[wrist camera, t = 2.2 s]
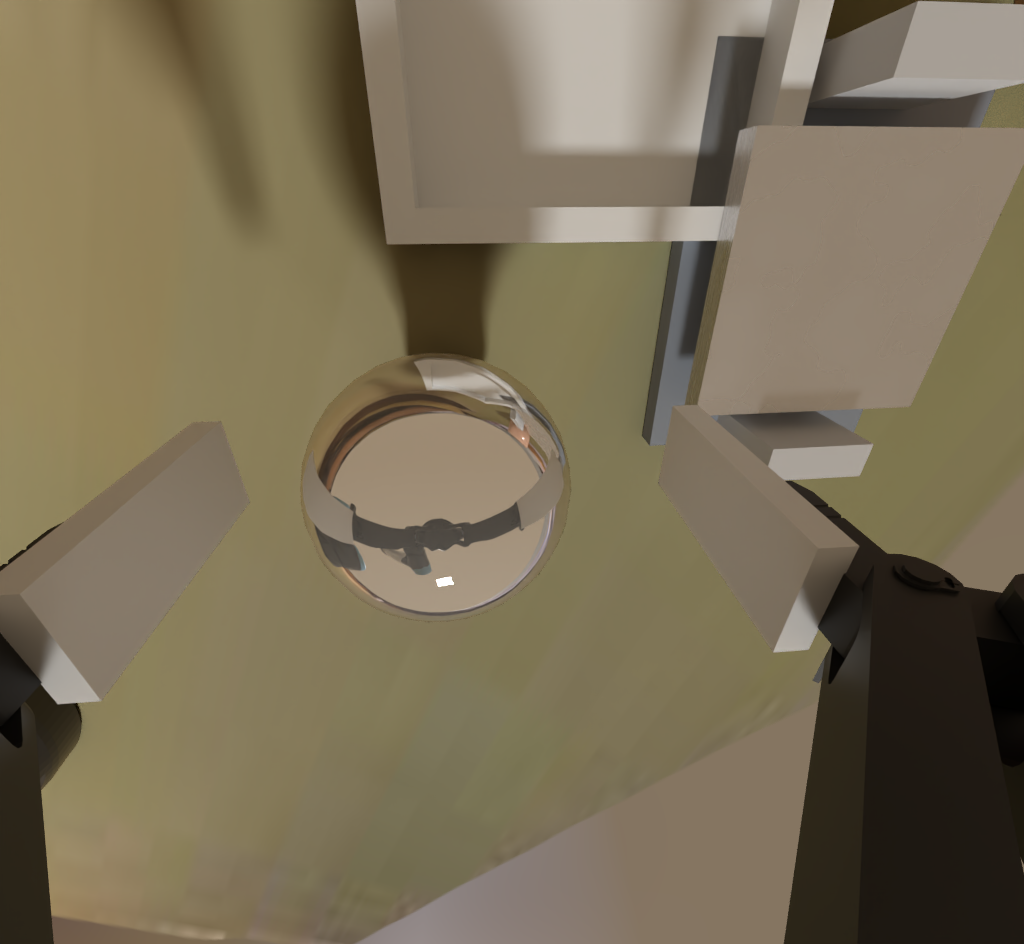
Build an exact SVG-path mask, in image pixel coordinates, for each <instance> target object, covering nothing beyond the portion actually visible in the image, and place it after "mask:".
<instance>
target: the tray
mask: <svg viewBox="0 0 1024 944" xmlns="http://www.w3.org/2000/svg"><path fill="white" fill-rule="evenodd" d="M833 4H834V0H356V8H357V16H358V24H359V31H360V39H361V47H362V55H363V63H364V70H365V78H366V86H367V94H368V102H369V109H370V117H371V125H372V133H373V140H374V148H375V156H376V164H377V172H378V179H379V187H380V195H381V203H382V211H383V218H384V226H385V234H386V242H387V244H463V243H552V242H642V241H717V240H718V235H719V230H720V225H721V220H722V215H723V210H724V206H723V205H724V204H725V202H724V201H725V200H723V199H720V195H722V196H723V198H724V199H726V191H727V186H728V185H727V183H728V184H729V182H728V181H729V179H730V177H728V175H727V177H726V176H724V174H723V173H725V172H726V171H725V172H724V171H723V170H727V169H728V170H729V169H730V168H732V167H731V166H732V165H731V163H732V162H730V160H731V161H732V160H733V159H734V155H732V154H731V153H730V152H732V150H731V151H729V150H730V148H729V149H728V150H727V148H728V147H730V146H731V145H732V146H733V147H732V146H731V148H732V149H733V150H734V151H735V149H734V148H736V147H735V146H736V145H733V143H732V142H736V143H737V141H736V140H737V139H738V138H736V136H734V134H733V133H732V132H734V131H732V130H731V129H732V127H733V130H735V129H734V128H736V126H737V125H739V123H740V124H741V122H740V121H742V124H744V125H745V123H747V124H746V126H745V127H746V128H750V127H754V126H757V125H776V126H802V125H803V121H804V117H805V114H806V110H807V106H808V102H809V98H810V94H811V90H812V86H813V82H814V78H815V74H816V70H817V67H818V63H819V59H820V55H821V51H822V47H823V43H824V39H825V35H826V31H827V27H828V23H829V19H830V16H831V12H832V8H833ZM718 36H722V37H723V36H725V39H726V41H727V37H726V36H734V37H733V38H732V39H735V37H736V36H738V37H737V38H738V40H739V41H738V42H740V41H741V40H740V39H741V38H740V39H739V36H740V37H742V36H743V37H744V38H743V40H745V38H746V37H748V39H749V37H750V38H751V39H753V37H754V38H755V37H757V38H758V39H757V38H755V39H757V40H759V38H760V37H764V41H763V42H764V43H763V42H762V44H761V43H760V41H758V42H759V43H760V45H761V47H762V52H761V51H760V50H761V49H760V48H759V49H760V50H759V49H758V48H757V49H756V50H759V51H757V53H758V52H761V53H758V54H760V56H761V57H760V56H759V55H758V54H757V55H756V50H755V53H754V48H755V47H758V46H760V45H757V46H756V42H754V41H755V39H754V40H752V43H753V42H754V44H753V46H754V45H755V47H754V48H753V47H751V45H750V44H751V43H750V44H749V43H748V44H747V47H745V49H746V50H747V51H748V50H749V51H748V52H749V53H750V50H751V51H753V52H752V53H753V54H752V55H754V56H753V57H756V56H758V57H756V59H757V60H756V61H758V58H759V57H760V58H759V59H760V61H759V62H758V63H759V64H757V63H755V64H757V66H756V65H755V64H754V65H755V67H754V68H755V69H756V70H757V74H756V75H757V76H756V75H754V73H756V72H754V71H756V70H754V68H753V69H752V70H751V71H753V70H754V71H753V72H754V73H753V72H751V73H753V74H752V76H751V75H750V74H746V75H748V78H749V77H752V79H751V78H750V79H751V80H752V81H751V80H750V79H748V78H746V77H747V76H744V77H745V78H746V79H748V80H750V81H751V82H753V84H752V85H749V84H751V83H749V82H748V80H746V79H744V77H743V75H745V74H744V72H745V73H750V72H748V71H747V72H746V68H745V69H744V67H746V66H747V65H748V66H747V70H748V68H749V66H751V64H750V65H749V63H748V62H749V61H754V62H756V61H755V58H754V60H753V59H752V60H751V59H750V60H748V59H745V58H743V57H745V56H746V55H747V54H748V53H746V52H747V51H745V53H746V55H743V53H742V50H741V49H740V50H738V48H739V47H738V45H737V44H738V42H737V41H735V40H734V41H735V42H737V43H736V44H735V42H734V41H733V40H732V41H733V44H735V45H733V47H734V46H735V48H736V45H737V49H736V50H738V51H737V52H739V51H740V54H741V53H742V54H741V55H740V54H739V53H738V55H740V58H743V59H745V60H744V62H746V63H747V64H745V63H744V64H745V66H744V65H743V64H741V63H742V62H743V61H742V59H741V60H740V61H739V59H740V58H739V59H738V57H739V56H736V55H737V54H735V52H736V50H734V49H735V48H733V47H731V51H732V50H734V52H733V53H734V55H735V57H736V60H738V62H739V65H740V64H741V66H740V67H742V65H743V67H742V68H743V70H745V71H744V72H743V74H742V75H740V76H741V77H743V78H742V79H743V83H745V84H746V83H747V82H748V83H747V84H748V86H747V84H746V85H745V90H747V89H750V88H752V87H753V88H752V89H753V90H754V91H752V89H750V91H749V92H750V93H751V96H752V97H751V96H749V94H750V93H749V94H747V92H748V90H747V92H745V91H744V89H742V90H743V92H742V90H739V89H741V88H739V89H737V88H736V89H737V90H738V91H741V94H740V92H738V91H736V89H735V93H736V92H737V93H739V95H738V94H737V95H738V96H740V95H741V96H740V97H739V98H741V97H742V99H741V100H742V101H744V103H747V101H748V100H746V102H745V96H744V95H746V94H747V95H748V96H746V97H748V99H749V97H750V99H751V101H748V104H749V103H750V102H751V103H750V104H751V105H749V106H750V107H749V106H746V105H747V104H745V105H743V103H739V101H740V102H742V101H741V100H739V98H738V99H736V98H737V97H736V98H735V95H736V94H735V95H734V98H733V94H734V91H733V90H732V89H734V87H735V84H736V83H735V84H733V85H734V87H733V88H731V87H732V86H731V85H732V83H734V82H732V83H731V81H730V83H731V84H730V86H728V84H727V81H726V82H725V83H724V84H725V85H727V86H726V87H725V85H724V86H723V84H721V80H722V79H724V78H725V77H726V78H725V80H727V76H728V75H729V76H728V78H729V79H730V80H731V78H730V77H732V75H734V71H736V70H737V71H738V70H741V69H742V68H740V67H739V66H738V67H739V69H737V68H738V67H737V66H735V67H737V68H736V69H735V70H734V71H733V72H732V71H731V72H732V73H733V74H732V75H731V74H727V75H726V76H725V75H724V74H723V75H724V78H722V79H721V76H720V77H718V75H720V74H721V73H724V71H723V72H722V70H720V69H719V68H717V71H718V70H720V71H719V73H720V72H721V73H720V74H719V73H718V75H717V74H716V75H717V76H716V77H714V79H715V78H717V77H718V78H717V80H715V81H716V82H717V81H720V84H719V85H720V86H723V87H725V88H723V87H721V89H722V88H723V90H724V89H726V88H728V87H729V88H731V89H730V93H732V92H733V93H732V96H731V94H729V95H728V97H726V99H725V97H723V95H725V94H726V93H727V92H728V89H727V92H725V91H726V90H725V91H724V92H725V94H722V96H720V95H721V93H723V92H721V93H720V91H719V93H720V95H719V94H718V95H719V96H720V97H722V99H721V100H723V101H721V102H724V101H725V102H727V98H728V100H730V104H733V102H732V101H734V105H732V106H731V107H734V106H735V105H736V104H737V103H736V104H735V100H736V101H737V102H738V104H737V105H736V106H738V105H739V104H741V105H740V106H739V107H737V110H736V108H735V109H733V110H736V112H737V113H738V108H740V109H739V110H742V111H743V113H744V114H745V117H746V118H745V117H744V115H743V114H742V113H740V112H741V111H739V113H740V114H739V113H738V115H739V116H734V115H735V114H733V113H734V111H732V109H731V111H730V109H729V108H730V104H729V105H727V104H728V103H726V106H728V109H729V110H728V111H729V112H730V113H732V114H733V115H732V118H734V117H735V118H734V119H735V120H736V121H737V122H738V123H737V122H736V125H735V123H734V125H735V127H734V125H733V124H731V123H733V122H731V119H732V118H731V116H730V115H731V114H730V113H728V114H729V116H728V115H726V116H727V117H725V115H724V114H723V115H724V116H722V118H723V117H724V119H725V118H726V119H727V118H728V119H727V120H728V123H730V124H731V125H732V126H731V125H730V124H729V125H730V126H731V127H730V126H728V124H727V123H726V121H727V120H725V123H726V124H724V125H726V126H728V127H727V128H726V129H728V128H730V129H729V130H728V131H730V130H731V131H730V133H729V132H728V131H727V134H725V133H726V132H725V133H724V128H722V126H723V123H722V126H721V120H722V122H724V120H723V119H722V118H720V120H719V118H718V117H719V116H718V117H717V115H716V114H717V113H720V112H719V111H718V112H717V110H718V109H719V108H718V106H717V108H718V109H717V108H716V105H717V102H716V101H717V99H718V98H719V96H718V98H717V95H715V93H716V91H717V90H718V88H719V90H721V89H720V86H719V85H718V84H717V83H716V84H717V86H719V87H718V88H716V85H715V86H714V85H713V86H714V87H715V88H716V89H717V90H716V89H714V88H712V86H711V85H712V83H710V81H711V80H713V76H714V75H715V73H714V75H713V74H712V73H713V72H714V71H712V69H713V68H714V67H713V66H714V65H713V64H714V62H715V60H714V57H715V56H717V54H718V53H717V52H718V50H716V45H717V44H718V43H719V44H718V45H720V42H722V40H723V39H722V40H720V41H719V42H717V39H718ZM720 38H721V37H720ZM730 38H731V37H730ZM748 39H747V40H748ZM760 39H761V40H763V39H762V38H760ZM736 40H737V39H736ZM743 40H742V41H743ZM724 42H725V41H724ZM724 42H723V43H724ZM730 42H731V41H730ZM730 42H729V39H728V43H730ZM744 42H745V41H744ZM744 42H742V43H744ZM747 42H749V40H748V41H746V43H747ZM725 43H726V42H725ZM728 43H727V45H728ZM742 43H740V44H741V46H742ZM721 44H722V43H721ZM744 44H745V43H744ZM744 44H743V46H742V48H743V47H744ZM718 45H717V46H718ZM725 45H726V44H725ZM748 45H749V46H750V47H751V48H753V50H752V49H747V48H748V47H749V46H748ZM721 46H722V45H721ZM721 46H719V49H720V47H721ZM731 46H732V45H731ZM739 46H740V45H739ZM745 46H746V45H745ZM724 47H725V46H724V44H723V48H724ZM729 47H730V44H729ZM732 48H733V49H732ZM717 49H718V47H717ZM729 49H730V48H729ZM729 49H728V47H727V50H729ZM721 50H722V49H721ZM715 51H716V52H715ZM725 51H726V48H725ZM727 52H728V51H727ZM727 52H726V53H725V54H728V53H727ZM737 52H736V53H737ZM720 53H721V52H720ZM722 53H723V54H724V52H722ZM745 53H744V54H745ZM723 54H722V57H723ZM725 54H724V55H725ZM730 54H731V53H730V52H729V54H728V55H730ZM719 55H720V54H718V56H719ZM755 55H756V56H755ZM718 56H717V57H718ZM726 56H727V55H726ZM741 56H742V57H741ZM747 56H748V58H753V57H751V53H750V54H749V55H747ZM747 56H746V58H747ZM749 56H750V57H749ZM729 57H730V58H729V59H731V57H733V54H732V55H730V56H729ZM715 58H716V57H715ZM720 58H721V57H720ZM720 58H719V57H718V60H719V59H720ZM724 58H725V59H726V58H727V57H724ZM733 58H734V57H733ZM733 58H732V59H733ZM722 59H723V58H722ZM727 59H728V58H727ZM727 59H726V63H727ZM746 60H748V62H747V61H746ZM722 61H723V60H722ZM724 61H725V60H724ZM724 61H723V62H721V64H720V65H722V64H723V63H724ZM732 61H733V60H732ZM741 61H742V62H741ZM728 62H729V61H728ZM740 62H741V63H740ZM716 63H717V61H716ZM716 63H715V66H716V67H718V65H719V64H718V63H717V65H716ZM730 63H731V60H730ZM730 63H727V64H725V63H724V64H725V65H727V67H726V66H725V67H726V68H728V64H730ZM734 63H735V59H734V61H733V63H731V64H730V65H729V69H730V66H731V65H732V64H734ZM736 63H737V61H736ZM736 63H735V64H734V65H736ZM750 63H751V62H750ZM724 64H723V65H722V66H719V67H724ZM752 64H753V63H752ZM734 65H732V66H734ZM737 65H738V64H737ZM754 65H753V66H754ZM732 66H731V69H730V70H732ZM758 66H759V67H758ZM716 67H715V68H716ZM756 67H758V69H757V68H756ZM726 68H724V69H725V72H726ZM733 68H734V67H733ZM751 68H752V66H751ZM724 69H723V70H724ZM749 69H750V68H749ZM714 70H715V69H714ZM727 70H728V69H727ZM749 71H750V70H749ZM715 72H716V71H715ZM728 72H729V73H730V71H728ZM741 72H742V71H741ZM741 72H739V73H740V74H741ZM726 73H727V72H726ZM726 73H725V74H726ZM711 75H713V76H712V78H711ZM723 75H722V77H723ZM749 75H750V76H749ZM753 75H754V79H756V82H755V83H754V81H753ZM735 76H736V79H737V77H738V79H739V74H738V76H737V74H736V75H734V76H733V78H732V79H734V80H735V78H734V77H735ZM741 77H740V79H741ZM755 77H756V78H755ZM719 78H720V80H719ZM742 79H741V80H742ZM725 80H723V81H725ZM715 81H713V84H715V83H714V82H715ZM723 81H722V82H723ZM735 81H736V80H735ZM738 81H739V80H738ZM738 81H737V83H738ZM745 81H746V82H745ZM711 82H712V81H711ZM718 83H719V82H718ZM728 83H729V81H728ZM743 83H742V84H741V82H740V83H739V85H740V86H741V87H742V88H744V86H742V85H743ZM754 84H755V85H754ZM753 85H754V86H755V87H754V86H753ZM746 86H747V87H748V88H747V87H746ZM750 86H751V87H750ZM710 87H711V89H713V90H715V93H714V92H713V90H712V93H713V94H714V98H716V100H715V99H714V100H715V101H714V102H716V103H715V104H716V105H715V104H713V102H711V101H710V102H711V103H712V105H715V106H714V108H713V106H712V105H711V107H712V108H711V107H710V104H711V103H710V104H709V102H707V100H708V97H709V96H708V95H710V96H711V95H712V93H711V94H708V93H710V90H711V89H710V90H709V88H710ZM737 87H739V86H738V85H737ZM746 88H747V89H746ZM752 92H753V94H752ZM743 93H745V94H743ZM727 94H728V93H727ZM742 94H743V95H742ZM737 95H736V96H737ZM725 96H726V95H725ZM730 96H731V97H732V98H733V99H735V100H733V99H732V101H731V98H730ZM743 96H744V97H743ZM710 98H712V100H713V97H712V96H711V97H710ZM710 98H709V100H711V99H710ZM729 98H730V99H729ZM743 99H744V100H743ZM746 99H747V98H746ZM738 100H739V101H738ZM719 101H720V99H719ZM719 101H718V102H719ZM721 102H720V103H718V105H719V104H721ZM731 102H732V103H731ZM707 104H708V105H707ZM706 105H707V107H708V106H709V111H711V109H713V110H714V109H717V110H715V111H716V112H717V113H715V111H714V112H713V111H711V113H712V112H713V113H712V116H711V114H708V115H707V113H708V112H709V111H708V112H707V111H706V109H707V110H708V108H706ZM742 105H743V106H742ZM720 106H724V105H723V103H722V105H720ZM720 106H719V107H720ZM736 106H735V107H736ZM744 106H746V107H748V108H750V110H749V109H748V108H747V109H748V111H749V116H748V111H747V112H746V113H745V111H746V110H747V109H746V107H745V109H746V110H744ZM725 108H726V107H725ZM725 108H723V109H722V107H721V114H722V112H724V111H725V110H726V109H725ZM742 108H743V109H742ZM724 109H725V110H724ZM719 110H720V109H719ZM722 110H723V111H722ZM728 111H725V114H726V112H728ZM706 112H707V113H706ZM705 113H706V117H705ZM709 113H710V112H709ZM714 113H715V115H716V117H717V118H716V121H717V119H718V121H717V122H716V125H713V124H715V122H714V121H713V120H712V119H715V116H714ZM721 114H719V115H720V117H721ZM746 114H747V115H746ZM709 115H710V117H709ZM740 115H743V117H744V120H743V117H741V118H740ZM713 116H714V117H713ZM747 116H748V117H747ZM704 117H705V118H706V119H707V117H709V118H710V119H711V117H712V119H711V120H712V123H711V120H709V119H708V120H709V121H710V123H711V125H710V123H708V125H710V126H708V125H706V126H708V127H707V129H708V130H707V131H709V135H710V132H712V130H711V129H713V130H714V128H715V127H716V126H717V123H718V126H717V127H716V128H715V130H716V129H717V130H716V131H718V130H719V132H717V134H718V133H722V132H723V133H724V134H725V136H726V135H728V133H729V135H730V134H733V135H732V136H734V138H733V137H730V139H731V138H732V139H735V140H734V141H733V140H732V142H731V140H730V139H729V138H728V137H729V136H727V138H728V139H727V138H726V139H727V140H728V143H729V140H730V143H729V144H730V145H729V144H728V143H725V142H726V139H725V141H724V138H722V141H720V142H723V143H725V144H728V145H729V146H728V145H725V144H724V147H726V149H724V150H725V151H724V150H723V148H724V147H723V148H722V149H720V148H721V144H720V145H719V143H720V142H719V140H720V139H721V136H722V137H723V134H721V135H720V134H718V135H719V136H718V135H717V136H718V137H717V136H713V135H715V134H716V132H713V133H711V134H712V135H711V136H713V137H712V139H713V138H714V137H717V138H714V139H716V143H717V144H716V147H715V142H714V143H713V140H709V136H708V135H707V136H706V138H707V139H706V138H705V139H706V140H708V141H707V142H706V143H708V142H709V143H708V144H707V145H709V144H710V142H711V143H712V144H714V145H712V144H711V145H712V147H711V148H713V149H715V153H714V154H713V153H712V152H711V151H712V150H713V149H712V150H709V149H710V146H711V145H710V146H707V145H706V144H705V141H706V140H704V144H705V145H706V147H707V149H708V148H709V149H708V150H709V156H710V154H713V155H715V154H716V153H717V155H718V152H720V150H721V153H723V154H724V153H726V152H727V153H726V154H728V152H729V154H731V156H730V155H729V156H730V157H732V156H733V158H732V159H731V158H730V157H728V155H727V157H728V158H726V157H725V158H726V160H725V161H727V160H728V161H727V162H726V163H727V164H728V163H729V162H730V163H729V164H730V166H728V167H730V168H728V167H727V166H726V167H727V168H725V163H724V161H723V158H724V157H720V158H719V159H721V158H722V159H721V160H720V161H719V160H718V159H717V160H716V162H715V163H716V164H718V165H717V166H716V167H718V168H717V171H718V169H720V168H721V166H720V165H719V163H721V161H723V162H722V163H721V164H722V168H721V169H720V170H719V171H718V172H719V173H720V172H721V173H722V171H723V173H722V174H723V175H722V174H721V173H720V176H718V175H719V173H717V172H716V169H714V168H715V167H714V166H712V168H713V172H714V171H715V173H713V172H710V169H711V171H712V168H711V167H710V169H709V171H708V168H707V164H710V166H711V165H712V163H713V162H714V161H712V163H710V162H711V160H715V159H716V157H715V158H714V156H713V157H712V155H711V157H712V158H711V157H709V158H708V155H707V154H704V155H707V156H706V157H704V158H702V157H703V156H704V155H703V156H701V158H702V162H704V161H705V159H706V158H707V159H706V160H708V161H709V160H710V162H709V163H707V162H708V161H706V162H705V163H703V166H702V165H701V164H698V166H699V165H701V166H702V167H705V166H706V167H705V169H707V170H706V171H708V172H709V173H710V174H711V173H713V175H715V174H716V173H717V178H716V175H715V178H714V179H713V178H712V174H711V175H710V174H708V172H707V174H708V175H710V176H711V178H710V179H709V177H710V176H709V177H708V175H707V176H706V175H705V174H706V171H705V172H703V171H704V168H702V167H701V166H699V167H697V162H698V163H700V162H701V160H700V159H701V158H699V157H700V154H701V153H702V152H701V153H699V152H700V150H699V149H700V148H701V151H703V153H704V150H706V148H705V149H702V148H704V147H705V146H704V147H703V144H702V147H701V143H700V142H701V140H703V139H704V137H703V136H702V137H701V135H702V134H704V133H705V134H706V133H708V132H706V131H705V132H704V130H706V129H705V128H704V127H703V126H705V125H703V123H704V122H707V121H706V120H705V121H704V119H705V118H704ZM729 117H730V118H731V119H730V118H729ZM736 118H737V119H739V118H740V119H742V120H740V121H738V120H737V119H736ZM745 119H746V120H748V121H746V120H745ZM729 120H730V121H729ZM732 120H733V119H732ZM735 120H734V121H735ZM709 121H708V122H709ZM719 121H720V126H721V127H719ZM743 121H746V122H743ZM706 124H707V123H706ZM742 124H741V125H740V126H738V127H739V128H741V130H743V129H744V126H742ZM712 125H713V127H714V126H715V127H714V128H713V127H712ZM706 126H705V127H706ZM726 126H723V127H726ZM741 126H742V127H741ZM709 127H710V128H709ZM711 127H712V128H711ZM718 127H719V128H718ZM738 127H737V128H738ZM720 128H722V129H721V131H722V130H723V131H722V132H720ZM739 128H738V129H739ZM703 129H704V130H703ZM738 129H737V130H735V132H736V131H738ZM702 130H703V132H704V133H702ZM710 130H711V131H710ZM735 132H734V133H735ZM738 132H739V131H738ZM738 132H736V133H738ZM714 133H715V134H714ZM711 136H710V139H711ZM719 137H720V138H719ZM737 137H738V135H737ZM718 138H719V139H718ZM717 139H718V140H717ZM717 145H718V146H720V147H719V151H718V150H717V148H718V146H717ZM722 146H723V145H722ZM708 150H707V152H705V153H708ZM716 150H717V152H716ZM726 150H727V151H726ZM734 151H733V152H734ZM710 152H711V153H710ZM713 152H714V151H713ZM721 153H720V154H719V156H721V155H722V154H721ZM726 154H725V155H726ZM734 154H735V152H734ZM698 155H699V156H698ZM701 155H702V154H701ZM725 155H723V156H725ZM715 156H716V155H715ZM719 156H717V158H718V157H719ZM713 158H714V159H713ZM725 158H724V159H725ZM697 159H699V160H700V161H697ZM729 159H730V160H729ZM717 161H719V162H718V163H717ZM706 163H707V164H706ZM723 163H724V164H723ZM705 164H706V165H705ZM716 164H715V165H716ZM732 164H733V163H732ZM704 165H705V166H704ZM723 165H724V168H725V169H723ZM719 166H720V168H719ZM696 167H697V168H696ZM700 167H701V168H700ZM699 168H700V169H699ZM696 169H699V171H700V170H701V171H702V173H705V174H704V175H705V177H704V176H703V175H702V174H700V173H701V171H700V172H699V174H698V171H696ZM702 169H703V170H702ZM728 170H727V173H728ZM730 171H731V170H730ZM730 171H729V176H730V173H731V172H730ZM696 172H697V175H698V176H697V177H698V178H696V177H695V173H696ZM700 175H701V176H703V177H702V179H701V177H700V178H699V176H700ZM725 175H726V173H725ZM722 176H724V177H725V178H726V182H727V183H726V182H724V181H725V180H724V181H723V179H724V178H721V177H722ZM706 177H707V178H708V179H709V180H708V179H707V178H706ZM713 177H714V176H713ZM718 177H719V178H718ZM703 178H704V180H705V179H706V180H707V181H706V180H705V181H706V182H703V181H704V180H703ZM720 178H721V180H720ZM728 178H729V179H728ZM697 179H699V180H700V184H699V181H698V180H697ZM715 179H716V180H715ZM717 179H718V180H720V181H723V182H724V185H722V188H724V187H725V186H726V188H724V189H723V190H725V189H726V190H725V191H723V190H722V189H721V190H720V189H719V190H718V189H717V190H716V189H715V187H716V186H718V187H717V188H721V187H719V185H720V184H723V182H720V181H718V180H717ZM694 180H695V181H694ZM701 180H702V182H701ZM710 180H711V182H713V181H714V180H715V181H716V182H717V181H718V183H719V182H720V184H718V183H716V182H715V181H714V182H713V183H714V184H713V183H712V185H713V186H715V184H716V186H715V187H714V188H713V186H712V187H711V188H713V189H711V190H712V191H710V188H709V190H708V188H707V187H706V186H707V184H708V187H709V186H711V182H709V181H710ZM727 180H728V181H727ZM694 182H695V184H696V182H697V184H696V185H695V184H694ZM707 182H708V183H707ZM701 183H703V184H704V185H705V183H706V186H704V187H705V190H704V188H703V187H702V188H703V189H701ZM709 183H710V185H709ZM725 184H726V185H725ZM693 185H695V187H696V186H698V188H699V190H698V188H695V187H694V186H693ZM699 185H700V186H699ZM702 186H703V185H702ZM720 186H721V185H720ZM723 186H724V187H723ZM693 187H694V188H695V190H694V188H693ZM700 189H701V190H700ZM706 189H707V190H706ZM714 189H715V191H716V192H714ZM692 190H693V192H695V191H696V190H697V192H695V195H694V193H693V192H692ZM702 191H704V192H703V194H702V196H704V195H705V194H707V196H708V197H709V199H708V197H707V198H705V197H706V195H705V197H703V198H704V199H703V198H702V196H701V193H702ZM706 191H709V193H708V192H707V193H705V192H706ZM717 191H718V193H717ZM698 192H699V195H698V196H696V195H697V194H698ZM700 192H701V193H700ZM712 192H714V193H713V194H712ZM720 192H724V193H725V195H723V193H721V194H720V195H718V194H719V193H720ZM704 193H705V194H704ZM710 193H711V194H712V195H710V196H709V195H708V194H710ZM716 193H717V194H716ZM714 194H715V196H717V198H716V197H715V196H714ZM692 195H694V196H695V197H699V196H700V197H699V199H700V198H701V199H703V200H704V202H706V201H707V200H708V201H707V202H706V205H704V204H705V203H703V200H701V199H700V200H701V201H698V198H694V197H691V196H692ZM711 196H712V197H713V198H714V197H715V199H717V200H718V197H719V199H720V200H721V201H722V202H721V201H720V200H719V201H717V200H715V199H713V198H712V197H711ZM722 196H721V197H722ZM691 198H692V200H693V201H694V204H695V207H694V206H693V203H692V202H691V201H692V200H691ZM710 198H712V202H711V199H710ZM705 199H706V201H705ZM697 201H698V202H700V204H701V202H702V203H703V204H702V207H701V206H700V204H699V203H698V202H697ZM716 201H717V203H716ZM695 202H696V203H695ZM708 202H710V204H709V203H708ZM719 202H720V203H719ZM697 203H698V204H697ZM707 203H708V207H706V206H707ZM711 203H712V204H714V203H715V204H714V205H711ZM691 204H692V205H691ZM717 204H718V205H719V204H720V205H719V206H718V205H717ZM690 205H691V206H690ZM703 205H704V206H703ZM710 205H711V206H710ZM715 205H716V206H715ZM692 206H693V207H692ZM696 206H697V207H696Z"/></svg>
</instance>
